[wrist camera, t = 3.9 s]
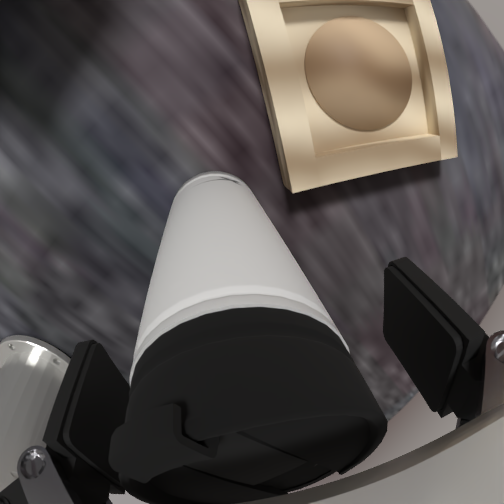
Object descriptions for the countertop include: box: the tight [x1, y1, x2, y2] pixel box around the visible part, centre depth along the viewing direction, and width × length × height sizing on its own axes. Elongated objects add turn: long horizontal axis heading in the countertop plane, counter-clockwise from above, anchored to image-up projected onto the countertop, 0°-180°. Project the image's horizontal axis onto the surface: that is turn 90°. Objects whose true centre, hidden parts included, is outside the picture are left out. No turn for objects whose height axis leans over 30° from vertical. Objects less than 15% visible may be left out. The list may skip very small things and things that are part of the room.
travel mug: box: [109, 171, 388, 504], centre depth 14 cm, size 6×7×20 cm
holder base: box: [238, 0, 457, 193], centre depth 19 cm, size 15×15×2 cm
